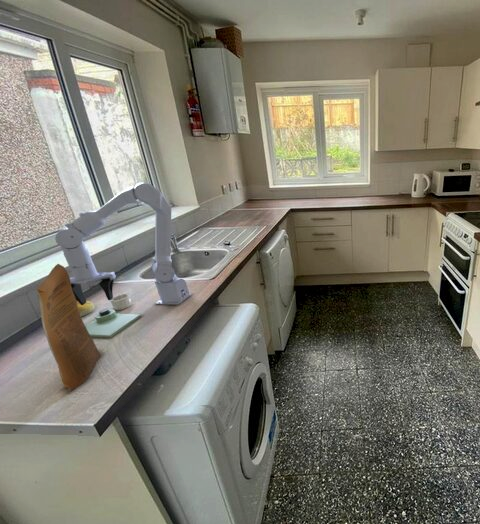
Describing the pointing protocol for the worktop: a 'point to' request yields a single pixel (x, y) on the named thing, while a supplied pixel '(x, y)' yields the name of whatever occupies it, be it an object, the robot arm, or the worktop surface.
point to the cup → (121, 301)
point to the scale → (110, 324)
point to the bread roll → (85, 308)
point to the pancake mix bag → (66, 329)
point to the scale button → (104, 312)
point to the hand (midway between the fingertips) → (97, 301)
